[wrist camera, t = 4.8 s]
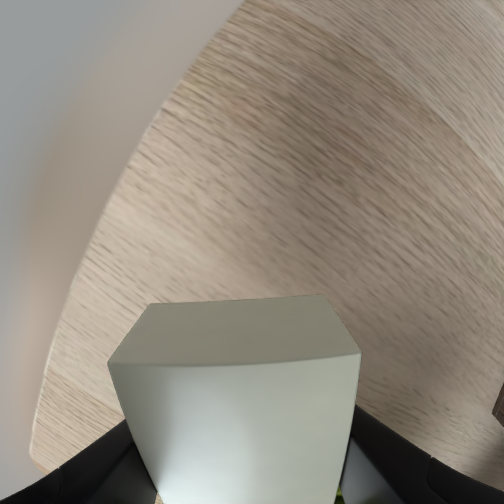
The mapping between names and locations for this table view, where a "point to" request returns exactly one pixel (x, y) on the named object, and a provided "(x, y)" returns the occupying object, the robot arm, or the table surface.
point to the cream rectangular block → (240, 399)
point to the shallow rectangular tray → (499, 408)
